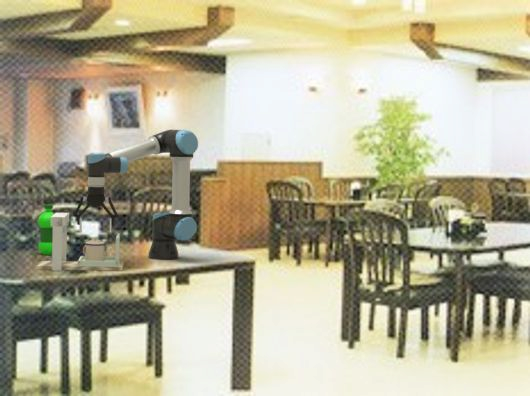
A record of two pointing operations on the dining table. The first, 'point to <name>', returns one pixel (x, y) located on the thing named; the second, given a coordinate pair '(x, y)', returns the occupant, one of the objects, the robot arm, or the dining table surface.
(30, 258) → the dining table surface
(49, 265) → the press track
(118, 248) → the press carriage
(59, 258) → the press frame
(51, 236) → the plastic bottle
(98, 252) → the teacup with lid
